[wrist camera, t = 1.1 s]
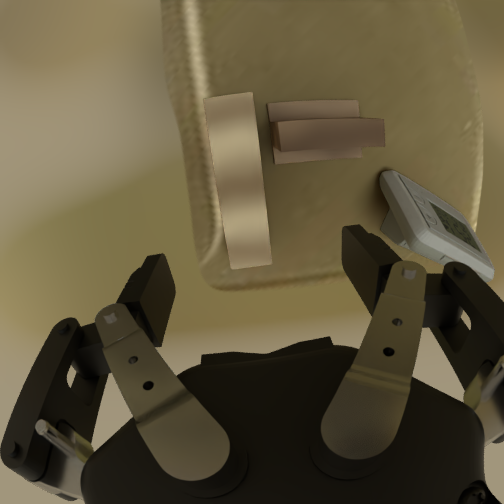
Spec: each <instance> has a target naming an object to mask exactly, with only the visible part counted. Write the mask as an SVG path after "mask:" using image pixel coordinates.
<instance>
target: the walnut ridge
mask: <svg viewBox="0 0 504 504" xmlns="http://www.w3.org/2000/svg"><path fill="white" fill-rule="evenodd" d="M267 109H268V117H269V125H270V132H271V141H272V149H273V157H274V164H275V165H276V164H285V163H295V162H306V161H317V160H331V159H347V158H362V147H385V128H384V119H376V118H360V116H359V105H358V100H310V101H291V102H277V103H267Z"/></svg>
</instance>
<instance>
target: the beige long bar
mask: <svg viewBox="0 0 504 504" xmlns="http://www.w3.org/2000/svg"><path fill="white" fill-rule="evenodd" d="M203 100H204V107H205V114H206V121H207V128H208V134H209V141H210V147H211V154H212V160H213V167H214V173H215V179H216V185H217V191H218V197H219V203H220V209H221V215H222V221H223V226H224V232H225V238H226V243H227V249H228V254H229V260H230V265H231V269H239V268H247V267H255V266H262V265H270V264H272V258H271V248H270V238H269V228H268V219H267V210H266V200H265V191H264V182H263V174H262V165H261V157H260V148H259V140H258V132H257V124H256V116H255V108H254V100H253V93H252V92H247V93H239V94H231V95H224V96H218V97H211V98H206V99H203Z"/></svg>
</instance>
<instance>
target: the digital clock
mask: <svg viewBox="0 0 504 504" xmlns="http://www.w3.org/2000/svg"><path fill="white" fill-rule="evenodd" d="M379 180H380V188H381V190H382V192H383V194H384V196H385V198H386V200H387V202H388V204H389V206H390V209H389V211H388V213H387V215H386V218H385V220H384V222H383V224H382V226H381V231H382V232H383V233H384V234H385V235H387V236H388V237H389V238H390V239H391V240H392V241H393V242H394V243H395V244H397V245H400V246H402V247H404V248H407V249H409V250H411V251H414V252H415V253H418V254H420V255H422V256H424V257H426V258H428V259H431V260H433V261H435V262H437V263H440V264H442V265H444V266H445V264H446V263H448V262H452V261H456V262H461V263H464V264H466V265H468V266H469V267H471V268H472V269H473V270H474V271H475V272H476V273H477V274H478V275H479V276H480V277H481V278H482V279H483V280H484V281H485V282H489V281H491V280H492V279H493V275H494V270H495V269H494V266H493V264H492V262H491V260H490V259H489V257H488V255H487V253H486V251H485V249H484V248H483V246H482V244H481V242H480V241H479V239H478V237H477V236H476V234H475V232H474V231H473V229H472V227H471V226H470V224H469V223H468V221H467V220H466V218H465V217H464V216H463V215H462V214H461V213H460V212H459V211H457V210H456V209H455V208H453V207H452V206H450V205H449V204H447V203H446V202H444V201H443V200H442V199H440V198H439V197H437V196H436V195H434V194H432V193H431V192H429V191H428V190H426V189H425V188H423V187H421V186H420V185H418V184H417V183H415V182H413V181H412V180H410V179H408V178H407V177H405V176H403V175H401V174H399V173H398V172H396V171H394V170H389V171H385V172H382V173H381V175H380V179H379Z"/></svg>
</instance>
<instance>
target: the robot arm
mask: <svg viewBox="0 0 504 504" xmlns="http://www.w3.org/2000/svg"><path fill="white" fill-rule="evenodd" d="M342 265H343V269H344V271H345V273H346V274H347V276H348V277H349V279H350V281H351V282H352V284H353V285H354V287H355V289H356V291H357V292H358V294H359V295H360V297H361V299H362V301H363V302H364V304H365V306H366V307H367V309H368V311H369V313H370V314H371V316H372V319H371V322H370V324H369V327H368V329H367V332H366V334H365V336H364V339H363V341H362V344H361V346H360V348H359V349H357V348H353V347H348V346H341V345H333V343H332V340H331V338H330V337H324V338H319V339H314V340H308V341H303V342H298V343H296V344H293V345H290V346H288V347H285V348H282V349H279V350H276V351H274V352H271V353H267V354H258V353H243V352H224V353H214V354H203V355H202V356H201V364H200V365H196V366H194V367H191V368H189V369H187V370H185V371H183V372H182V373H180V374H178V375H177V376H176V375H175V374H174V373H173V371H172V370H171V369H170V367H169V366H168V365H167V363H166V362H165V361H164V360H163V358H162V357H161V355H160V354H159V353H158V351H157V350H156V348H155V347H161V346H162V342H163V338H164V334H165V330H166V327H167V323H168V320H169V316H170V312H171V309H172V305H173V302H174V298H175V293H176V291H175V284H174V280H173V277H172V274H171V271H170V268H169V265H168V262H167V259H166V257H165V255H164V254H163V253H162V254H157V255H150V256H147V257H146V259H145V261H144V263H143V265H142V266H141V268H138V269H137V270H136V271H135V272H134V273H133V274H132V275H131V276H130V278H129V280H128V283H126V285H125V288H124V289H123V291H122V292H121V294H120V296H119V298H118V300H117V302H116V303H115V304H111V305H108V306H106V307H104V308H103V309H102V310H100V311H99V312H98V314H97V315H96V317H95V322H94V323H92V324H88V325H85V326H82V327H81V326H80V324H79V323H78V321H77V319H75V318H66V319H63V320H61V321H60V322H59V323H57V324H56V325H55V326H54V327H53V329H52V331H51V332H50V334H49V336H48V338H47V340H46V341H45V343H44V345H43V347H42V349H41V351H40V353H39V355H38V356H37V358H36V360H35V362H34V364H33V366H32V368H31V370H30V373H29V375H28V377H27V379H26V381H25V383H24V385H23V388H22V390H21V392H20V395H19V397H18V399H17V402H16V404H15V407H14V409H13V412H12V414H11V417H10V420H9V422H8V425H7V428H6V431H5V434H4V437H3V440H2V443H1V448H0V454H1V459H2V461H3V463H4V464H5V465H6V466H7V467H8V468H10V469H11V470H13V471H14V472H16V473H17V474H19V475H21V476H22V477H24V479H26V480H27V481H29V482H30V483H32V484H34V485H36V486H37V487H39V488H41V489H43V490H45V491H47V492H49V493H51V494H55V495H57V496H59V497H61V498H63V499H65V500H68V501H74V500H77V499H81V500H84V502H85V504H502V503H500V502H499V501H498V500H497V499H496V498H495V496H494V495H493V494H492V493H491V492H490V490H489V489H488V487H487V484H486V481H485V474H484V447H485V446H486V445H488V444H490V443H491V442H492V443H501V442H503V441H504V302H503V301H502V300H501V299H500V297H499V296H498V295H497V294H496V293H495V292H494V291H493V290H492V289H491V288H490V287H489V286H488V285H487V284H486V282H485V281H484V280H483V279H482V278H481V277H480V276H479V275H478V274H477V273H476V272H475V271H474V270H473V269H472V268H471V267H469V266H468V265H466V264H464V263H461V262H456V261H452V262H448V263H446V264H445V266H444V270H443V273H442V274H427V272H426V270H425V268H424V267H423V266H422V265H420V264H418V263H416V262H413V261H403V260H402V259H401V258H400V257H399V256H398V255H397V254H396V253H395V252H394V251H393V250H392V249H390V247H389V246H388V245H387V244H386V243H385V242H384V241H383V240H382V239H381V238H380V237H378V236H376V235H374V234H372V233H368V232H367V231H366V230H365V229H364V228H363V227H362V226H361V225H359V224H358V225H351V226H344V227H343V229H342ZM463 310H464V311H465V312H466V313H467V315H468V316H469V318H470V320H471V330H469V329H468V327H467V326H466V324H465V323H464V322H463V320H462V319H461V315H462V312H463ZM427 327H429V328H430V330H431V331H432V333H433V335H434V336H435V338H436V339H437V341H438V343H439V345H440V346H441V348H442V350H443V351H444V353H445V355H446V357H447V358H448V360H449V362H450V364H451V365H452V367H453V369H454V371H455V373H456V375H457V376H458V378H459V381H460V382H461V384H462V386H463V388H464V390H465V392H464V397H463V400H464V403H463V402H461V401H459V400H457V399H455V398H453V397H451V396H449V395H447V394H445V393H443V392H441V391H439V390H437V389H435V388H433V387H431V386H429V385H427V384H425V383H423V382H421V381H419V380H418V379H416V378H414V377H412V374H413V370H414V366H415V362H416V357H417V352H418V347H419V342H420V337H421V331H422V328H427ZM71 365H72V367H73V368H74V369H75V370H76V372H77V373H76V375H75V378H74V381H73V383H72V386H71V388H70V387H69V385H68V383H67V373H68V371H69V368H70V366H71ZM109 373H112V374H113V377H114V379H115V381H116V383H117V385H118V387H119V389H120V391H121V394H122V396H123V398H124V400H125V402H126V404H127V405H128V407H129V409H130V411H131V413H132V415H133V417H132V418H131V419H130V420H129V421H128V422H127V423H126V424H125V425H124V426H122V427H121V428H120V429H119V430H118V431H117V432H116V433H115V434H114V435H113V436H112V437H111V438H109V439H108V440H107V441H106V442H105V443H104V444H103V445H102V446H101V447H99V448H98V449H97V450H96V451H95V452H94V450H93V447H92V445H91V442H92V437H93V432H94V428H95V424H96V419H97V415H98V411H99V407H100V403H101V400H102V396H103V392H104V389H105V385H106V381H107V378H108V374H109Z"/></svg>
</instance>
